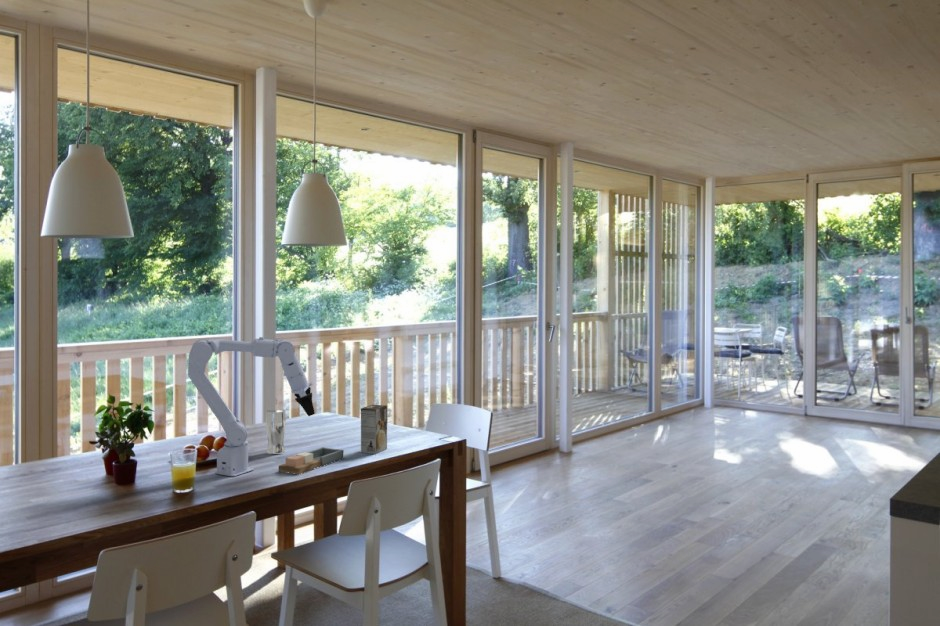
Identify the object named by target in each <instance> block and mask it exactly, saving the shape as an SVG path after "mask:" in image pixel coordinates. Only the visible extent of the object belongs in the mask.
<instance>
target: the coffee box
mask: <svg viewBox="0 0 940 626" xmlns="http://www.w3.org/2000/svg"><path fill="white" fill-rule="evenodd" d="M386 449H387V450H388V405H384V404H383V405H381V404H370V405H367V406H364V407H362V408H360V453H361V452H363V454H372V455H374V454H375V455H377V454H379V453H381V452H383V451H384V450H386Z"/></svg>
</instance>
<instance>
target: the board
mask: <svg viewBox="0 0 940 626" xmlns="http://www.w3.org/2000/svg"><path fill="white" fill-rule="evenodd" d="M320 466H322V460H315V459H313V461H312V462H309V463H306V464H303V465H300V466H298V467H291V466H286V462H285V463H282V464H280V465H278V472H279V471H282V472H281V473H283V472H289V473H295V474H294V475H296V474H300V475H302V474H305V473H307V472H306V471H308V472H310V471H309V470H311V471H313V470H315V469H314V468H316V469H318V468H317V467H319V468H321V467H320ZM322 467H323V466H322ZM312 469H313V470H312ZM304 472H305V473H304ZM289 473H288V474H289ZM301 473H302V474H301Z"/></svg>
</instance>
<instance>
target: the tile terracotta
mask: <svg viewBox="0 0 940 626" xmlns="http://www.w3.org/2000/svg"><path fill="white" fill-rule="evenodd" d="M285 463H286V466H291V467H298V466H300V465H303V464H304V457H302V456H296V455H290V456H288V457H285Z"/></svg>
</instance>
